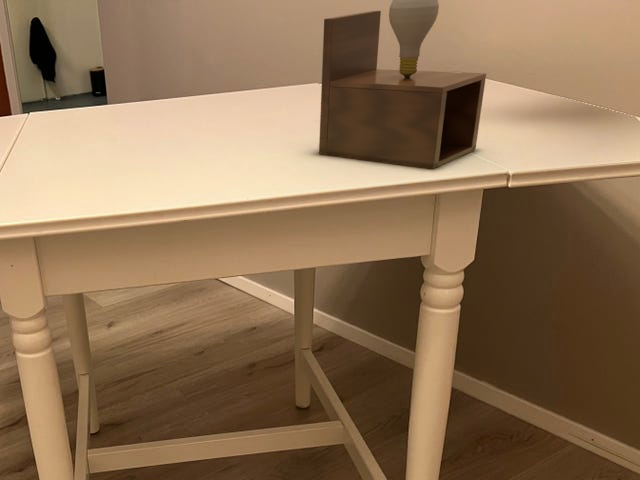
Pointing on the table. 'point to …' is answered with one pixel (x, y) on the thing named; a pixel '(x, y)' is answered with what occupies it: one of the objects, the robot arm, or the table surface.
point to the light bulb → (411, 29)
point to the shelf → (391, 102)
